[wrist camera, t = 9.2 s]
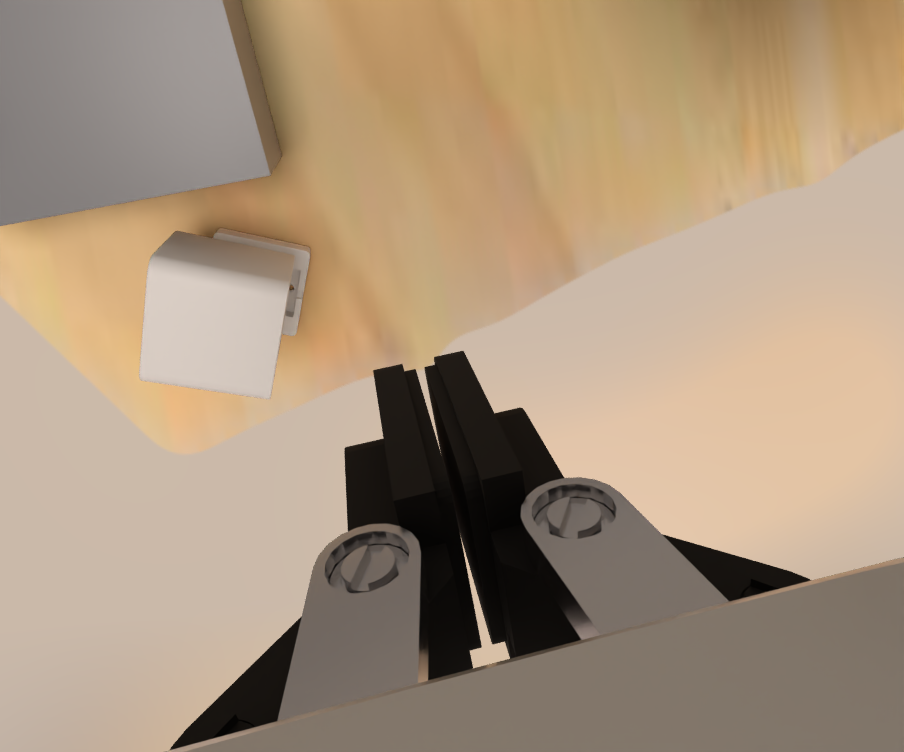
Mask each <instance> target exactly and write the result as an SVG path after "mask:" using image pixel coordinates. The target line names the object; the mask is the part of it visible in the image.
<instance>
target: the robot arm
mask: <svg viewBox="0 0 904 752" xmlns="http://www.w3.org/2000/svg"><path fill="white" fill-rule="evenodd" d="M434 362H435V365H432V366H428V367H425V373H426V379H427V384H428V389H429V394H430V400H431V405H432V409H433V415H434V420H435V425H436V430H437V435H438V441H439V446H440V449H439V446H438V443H437V440H436V436H435V433H434V429H433V426H432V423H431V419H430V416H429V413H428V409H427V406H426V403H425V399H424V396H423V393H422V389H421V386H420V382H419V379H418V376H417V372H416V369H414V370H409V371H405V372H404V369H403V365H402V364H400V365H396V366H391V367H386V368H382V369H377V370H373V372H374V378H375V385H376V392H377V398H378V404H379V410H380V418H381V424H382V431H383V437H384V439H380V440H376V441H372V442H367V443H363V444H358V445H354V446H349V447H346V448H345V474H346V495H347V496H346V497H347V520H348V532H346V533H344V534H342V535H340V536H339V537H337V538H336V539H335V540H333V541H332V542H331V543H329V544H328V545H327V546H326V547H325V548H324V550H323V551H322V552H321V553H320V555H319V556H318V558H317V560H316V562H315V565H314V567H313V571H312V575H311V579H310V584H309V588H308V592H307V596H306V601H305V605H304V609H303V614H302V617H301V618H300V619H298V621H296V622H295V623H294V624H293V625H292V627H291V628H289V629H288V630H287V631H286V632H285V633H284V634H283V635H282V636H281V637H280V638H279V639H278V640H277V641H276V642H275V643H274V644H273V645H272V646H271V647H270V648H269V649H268V650H267V651H266V652H265V653H264V654H263V655H262V656H261V657H260V658H259V659H258V660H257V661H256V662H255V663H254V664H253V665H251V667H250V668H248V669H247V670H246V671H245V672H244V674H242V675H241V676H240V677H239V678H238V679H237V680H236V681H235V682H234V683H233V684H232V685H231V686H230V687H229V688H228V689H227V690H226V691H225V692H224V693H223V694H222V695H221V696H220V697H219V698H218V699H217V700H216V701H215V702H214V703H213V704H212V705H211V706H210V707H209V708H208V709H206V711H204V712H203V714H201V715H200V716H199V717H198V718H197V719H196V721H194V722H193V723H192V724H191V725H190V726H189V727H188V728H187V729H186V730H185V731H184V733H183V734H182V735H181V736H180V738H179V739H178V740H177V741H176V742H175V743H174V745H173V746H172V747H171V749H170V750H169V751H166V752H904V557H903V558H898V559H894V560H890V561H886V562H883V563H879V564H875V565H871V566H867V567H863V568H860V569H855V570H851V571H848V572H843V573H839V574H835V575H831V576H827V577H824V578H819V579H815V580H810V579H808V578H806V577H803V576H800V575H798V574H795V573H793V572H790V571H787V570H783V569H780V568H777V567H773V566H770V565H766V564H763V563H760V562H756V561H752V560H749V559H746V558H742V557H739V556H735V555H731V554H728V553H725V552H721V551H718V550H714V549H711V548H707V547H704V546H701V545H697V544H694V543H690V542H686V541H683V540H680V539H676V538H673V537H669V536H666V535H662V534H661V533H660V532H659V531H658V530H657V529H656V528H655V527H654V526H653V525H652V524H651V523H650V522H649V521H648V520H647V519H646V518H645V517H644V516H643V515H642V514H641V513H640V512H639V511H638V510H637V509H636V508H635V507H634V506H633V505H632V504H631V503H630V502H629V501H628V500H627V499H626V498H625V497H624V496H623V495H622V494H621V493H620V492H618V491H617V490H615V489H614V488H613V487H611V486H610V485H608V484H605V483H602V482H600V481H597V480H593V479H587V478H564V477H563V475H562V473H561V472H560V470H559V468H558V467H557V465H556V464H555V462H554V460H553V458H552V457H551V455H550V453H549V451H548V450H547V448H546V446H545V445H544V443H543V441H542V440H541V438H540V436H539V434H538V433H537V431H536V429H535V428H534V426H533V424H532V422H531V421H530V419H529V417H528V416H527V414H526V412H525V411H524V410H523V408H517V409H512V410H508V411H503V412H499V413H494V412H493V410H492V408H491V406H490V404H489V402H488V400H487V398H486V396H485V394H484V392H483V390H482V387H481V385H480V383H479V381H478V380H477V377H476V375H475V373H474V371H473V369H472V367H471V365H470V363H469V361H468V359H467V357H466V355H465V353H464V351H460V352H455V353H451V354H446V355H442V356H437V357H434ZM440 451H441V453H440ZM460 535H461V536H460ZM461 538H462V542H463V545H464V548H465V552H466V556H467V559H468V563H469V566H470V570H471V573H472V576H473V579H474V583H475V586H476V590H477V594H478V597H479V601H480V604H481V608H482V611H483V615H484V618H485V621H486V625H487V628H488V632H489V635H490V638H491V642H492V644H496V643H500V642H504V641H505V643H506V646H507V649H508V653H509V656H510V659H508V660H504V661H500V662H496V663H492V664H489V665H485V666H481V667H477V668H474V669H472V668H473V666H472V661H471V656H470V650H473V649H477V648H481V641H480V635H479V630H478V625H477V620H476V614H475V609H474V604H473V599H472V594H471V588H470V584H469V578H468V573H467V568H466V562H465V557H464V552H463V547H462V542H461Z"/></svg>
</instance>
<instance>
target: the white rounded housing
mask: <svg viewBox="0 0 904 752" xmlns="http://www.w3.org/2000/svg"><path fill="white" fill-rule="evenodd" d="M310 252H311V250H310V248H309V247H307V246H304V245H299V244H294V243H289V242H285V241H280V240H275V239H271V238H266V237H261V236H257V235H252V234H247V233H243V232H238V231H233V230H229V229H224V228H220V229H218V230H217V232H216V233H215V234H214V236H213V238H209V237H205V236H200V235H195V234H190V233H186V232H181V231H175V232H174V233H173V234H172V235H171V236H170V237H169V238H168V239H167V240H166V241H165V242H164V243H163V244H162V245H161V246H160V247H159V248H158V249H157V250H156V252H155V253H154V254H153V255H152V256H151V258H150V261H149V265H148V271H147V281H146V294H145V307H144V319H143V332H142V345H141V357H140V370H139V377H140V380H141V381H148V382H154V383H161V384H168V385H175V386H181V387H188V388H195V389H202V390H208V391H215V392H222V393H229V394H235V395H242V396H249V397H256V398H262V399H270V398H271V393H272V387H273V382H274V376H275V370H276V365H277V359H278V353H279V348H280V342H281V336H282V334H284V335H290V336H294V335H295V334H296V333H297V327H298V322H299V316H300V311H301V305H302V299H303V293H304V288H305V282H306V277H307V271H308V266H309V260H310ZM290 285H293V287H294V289H293V290H289V288H290Z"/></svg>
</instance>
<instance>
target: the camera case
mask: <svg viewBox="0 0 904 752" xmlns="http://www.w3.org/2000/svg"><path fill="white" fill-rule="evenodd" d="M281 157H282V154H281V151H280V147H279V143H278V139H277V135H276V132H275V128H274V124H273V120H272V117H271V113H270V109H269V105H268V101H267V98H266V94H265V90H264V86H263V82H262V79H261V75H260V71H259V67H258V64H257V60H256V56H255V52H254V48H253V45H252V41H251V37H250V33H249V29H248V26H247V22H246V18H245V14H244V11H243V7H242V3H241V0H0V226H3V225H8V224H14V223H19V222H24V221H30V220H35V219H40V218H46V217H51V216H56V215H62V214H67V213H73V212H78V211H83V210H89V209H94V208H99V207H105V206H110V205H115V204H121V203H126V202H131V201H137V200H142V199H148V198H153V197H158V196H164V195H169V194H174V193H180V192H185V191H190V190H196V189H201V188H207V187H212V186H217V185H223V184H228V183H233V182H239V181H244V180H249V179H255V178H260V177H265V176H271V174H272V172H273V171H274V169H275V167H276V165H277V164H278V162H279V160H280V159H281Z"/></svg>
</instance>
